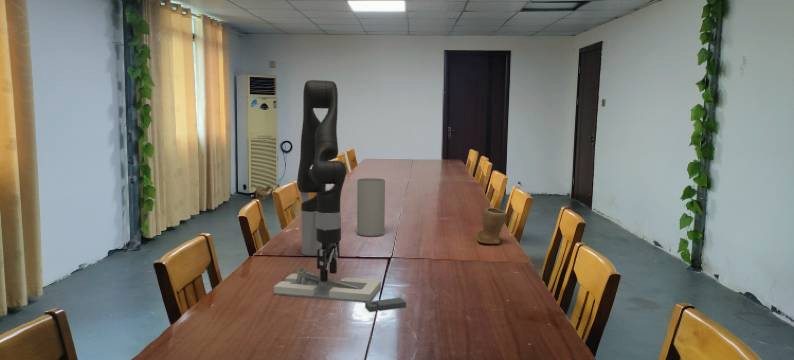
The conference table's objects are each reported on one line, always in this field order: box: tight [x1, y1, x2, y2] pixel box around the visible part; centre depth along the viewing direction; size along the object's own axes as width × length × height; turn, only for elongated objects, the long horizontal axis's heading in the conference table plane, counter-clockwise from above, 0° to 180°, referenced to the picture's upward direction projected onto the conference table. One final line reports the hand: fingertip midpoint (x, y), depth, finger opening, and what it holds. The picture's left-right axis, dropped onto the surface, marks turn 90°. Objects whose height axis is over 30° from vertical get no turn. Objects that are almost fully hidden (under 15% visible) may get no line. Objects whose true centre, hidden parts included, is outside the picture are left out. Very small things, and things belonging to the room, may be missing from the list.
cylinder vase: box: [356, 177, 386, 238], centre depth 249 cm, size 12×12×25 cm
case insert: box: [273, 272, 382, 303], centre depth 170 cm, size 14×30×2 cm, turn 78°
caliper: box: [297, 266, 358, 289], centre depth 170 cm, size 21×1×6 cm, turn 78°
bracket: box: [364, 297, 407, 313], centre depth 157 cm, size 4×11×2 cm, turn 113°
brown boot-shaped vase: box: [475, 207, 507, 245], centre depth 238 cm, size 15×12×15 cm
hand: (328, 277), depth 170 cm, fingers open, 8 cm apart
